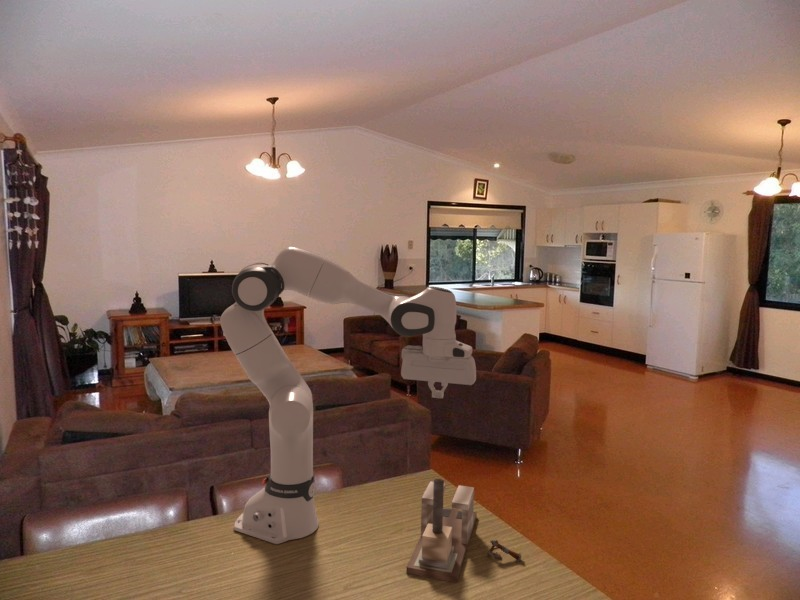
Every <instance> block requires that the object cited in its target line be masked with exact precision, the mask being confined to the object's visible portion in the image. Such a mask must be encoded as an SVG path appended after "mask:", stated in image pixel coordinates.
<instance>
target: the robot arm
mask: <svg viewBox="0 0 800 600" xmlns="http://www.w3.org/2000/svg"><path fill="white" fill-rule="evenodd" d="M231 285H232V287H231V294H232V296H233V297H232V298H233V299H234V301H235V302H234V303H233V304H231V305H230V306H228V307H227V308H226V309H225V310H224V311H223V312H222V314H220V315H221V316H220V318H219V324H220V326H221V330H222V333H223V335H224V337H225V339H226V341H227V344H228V346H229V347H230V349H231V351H232V353H233V355H234V356H235V358H236V359H237V362H239V364H240V366H241V368H242V370H244V372H245V374H246V375H247V377H248V379H249V380H250V382H252V383H253V384H254V385H255V386H256V387H257V389H259V391H260V392H261V393H262V394H263V396H264V398H266V400H267V401H268V404H269V410H268V426H269V427H268V429H269V430H268V431H269V443H270V445H269V446H270V472H269V473H268V474H267V475H266V476H265V478H264V479H263V480H262V481H261V483H262V484H261V486H264V485H265V486H264V487H263V488H261V489H260V490H259V491H257V492H256V493H255V494H254V495H252V496H251V497H250V498H249V499H248V500H247V502H246V503H245V505H244V509H243V512H242V513H241V514H240V515H239V516H238V517H237V519H235V522H234V526H233V530H234V531H236V532H239V533H242V534H245V535H247V536H251V537H254V538H257V539H259V540H263V541H266V542H269V543H272V544H273V545H279V544H282V543H284V542H287V541H291V540H298V539H302V538H305V537H308V536H310V535H312V534H313V533H314V532H315V531H317V530H318V528H319V525H320V521H319V519H318V516H317V512H316V506H315V505H316V504H315V497H314V496H315V489H316V486H315V473H314V468H313V467H314V450H313V449H314V403H313V392H312V390H311V388H310V387H309V385H308V384H307V381H305V379H304V378H303V376H302V375H301V373H300V372H299V370H298V369H297V367H295V365H294V364H293V363H292V361H291V359H290V358H289V357H288V356H287V353H286V352H285V350H284V349H283V347H282V345H281V344H280V342H279V340H278V338H277V337H276V336H275V335H276V334H275V333H274V332H273V330H272V328H271V327H270V326H269V323H268V321H267V320H266V317H265V309H268V308H269V307H270V306H271V305H272V304H274V302H275V301H276V300H277V298H278V297H279V296H280V295H281V294H282V293H283V292H284V291H287V290H288V291H293V292H297V293H298V294H301V295H303V296H305V297H308V298H310V299H312V300H315V301H318V302H321V303H325V304H328V305H339V304H351V305H356V306H358V307H360V308H363V309H366V310H367V311H370V312H372V313H375V314H377V315H379V316H380V317H382V319H384V320H385V321H386V323H387V324H388V325H389V326H390V327H391V328H392V329H393V331H395V332H396V333H397V334H398V335H400V336H402V337H415V336H419V335H421V336H422V345H412V344H408V345H406V346H403V348H402V349H401V359H402V363H401V369H400V375H401V377H402V378H403V380H413V381H423V382H427V385H428V388H429V390H430V391H431V398H435V399H444V396H445V394H444V393H445V391H446V389H447V387H448V385H449V384H456V385H467V386H472V385H474V384H475V382H476V380H477V367H476V361H475V358H474V356H473V355H472V354H473V346H471V345H468V344H466V343H463V342H462V341H458V340H457V335H456V330H455V329H456V324H457V301H456V296H455V294H454V292H452V291H451V290H449V289H446V288H443V287H438V286H427V287H426V289H424V290H423V291H421V292H419V293H417V294H415V295H413V296H410V295H407V294H390V293H388V292H384V291H382V290H380V289H378V288H375V287H373V286H370V285H368V284H366V283H365V282H363V281H360V280H359V279H358V278H357V277H355V276H354V275H353V274H352V273H351V272H350V271H348V269H346V268H345V267H343V266H342V265H340V264H339V263H336V262H335V261H333V260H331V259H329V258H328V257H325V256H322V255H320V254H317V253H315V252H312V251H309V250H306V249H303V248H300V247H295V246H288V247H285V248H283V249H282V250H281V251H280V252H279V253H278V254H277V256H276V258H275V260H274V261H273V262H272V263H271V264H267V263H265V262H256V263H252V264H248V265H247V266H245V267H243V268H242V269H241V270H240V271H239V273H237V275H236V276H235V278H234V279H233V281H232V284H231ZM435 383H441V387H442V388H441V390H439V389H436V387H435V386H434V385H435Z"/></svg>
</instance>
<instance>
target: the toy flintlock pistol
mask: <svg viewBox="0 0 800 600" xmlns="http://www.w3.org/2000/svg"><path fill="white" fill-rule="evenodd" d="M490 543H491V545H492V546H491V547H490V548H489V550H488V551H487V553H486V555H487V556H488V557H490V555H493V556H494V558H495V559H498V560H499V559H501V560H502V558H503V556H502V555H501V554H500V553H498V551H497V552H493V551H495V550H500V551H502V552H503V553H505V554H506V555H507V554H508V555H510V556H511V557H512V558H514V559H515V560H516V562H517V563H519V562H520V561H521V559H522V552H515V551H513V550H511V549H510V548H508V547H506V546H505V545H502V544H500V543H499V541H498V540H497V539H491V540H490Z"/></svg>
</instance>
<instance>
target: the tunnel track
mask: <svg viewBox="0 0 800 600" xmlns="http://www.w3.org/2000/svg"><path fill="white" fill-rule="evenodd" d="M433 489H434V481H431V480H430V482H429V483H428V485H427V487H426V489H425V490H424V492H423V494H422V497H421V509H420V511H421V513H420V515H421V516H420V517H421V518H420V538H419V539H418V542H417V544H416V546H415V548H414V550H413V553H412V555H411V557H410V559H409V561H408V564H407V565H406V572H405V573H406V574H408V575H409V574H410V575H414V576H415V575H416V576H421V577H424V578H431V579H436V580H440V581H441V580H442V581H447V582H452V583H456V584H457V583H458V580H459V578H460V574H461V571H462V567H463V564H464V560H465V557H466V554H467V552H468V551H467V550H468V547H469V543H470V541H471V540H470V539H471V536H472V534H473V531H474V527H475V523H476V521H477V517H478V516H477V513H478V512H475V511H474V502H475V500H474V499H475V487H473V486H467V485H461V484H460V485H459V484H458V486H457V489H456V491H455V493H454V496H453V499H452V501H451V507H444V506H443V526H448V527H452V546H454V552H453V555H452V558H451V561H450V564H449V567H448V569H445V568H440V567H434V566H429V565H423V564H419V558H420V555H421V553H422V535H423V533H424V531H425V529H426V527H427V524H428V523H429V524H433ZM445 491H446V483H445V482H444V492H445Z"/></svg>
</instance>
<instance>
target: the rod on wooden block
mask: <svg viewBox="0 0 800 600" xmlns="http://www.w3.org/2000/svg"><path fill="white" fill-rule="evenodd" d="M433 482H434V489H433V524H429V523H428V524H427V527H426V529H425V531H424V533H423V535H422V553H421V555H420V558H419V564H423V565H429V566H434V567H440V568H445V569H448V567H449V564H450V561H451V558H452V555H453V552H454V546H452V527H448V526H443V507H444V494H445V491H444V483H445V481H444V479H441V478H435V479H433Z"/></svg>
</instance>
